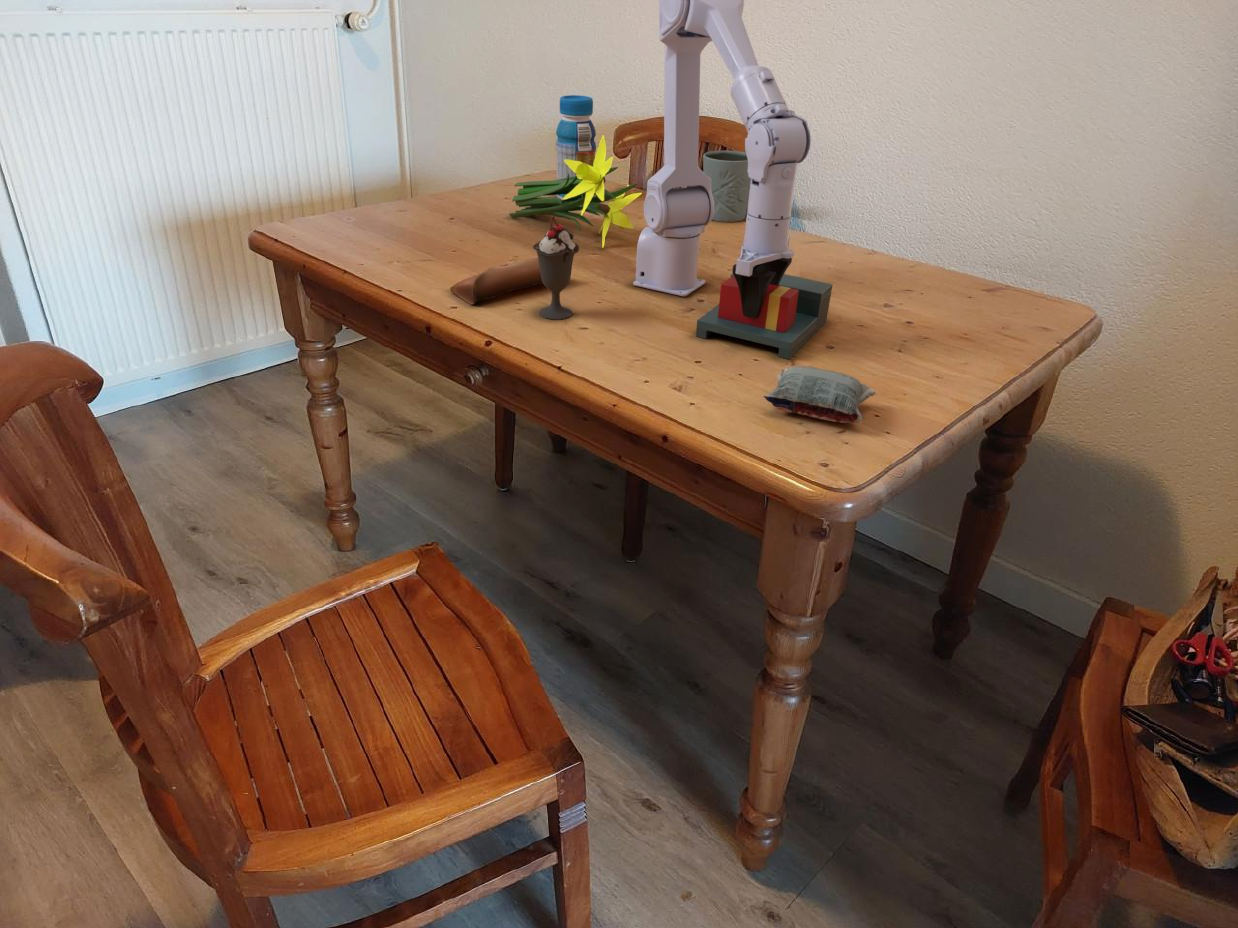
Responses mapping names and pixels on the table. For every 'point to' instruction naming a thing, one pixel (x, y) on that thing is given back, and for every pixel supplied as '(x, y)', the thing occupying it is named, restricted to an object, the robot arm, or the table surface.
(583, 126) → the beverage bottle
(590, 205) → the daffodil flowers
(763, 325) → the candy bar
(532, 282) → the sunglasses case
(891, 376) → the table surface
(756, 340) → the shelf rack
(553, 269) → the sundae
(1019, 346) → the table surface
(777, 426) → the table surface
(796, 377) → the packaged food
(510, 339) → the table surface
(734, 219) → the sage green ceramic cup
